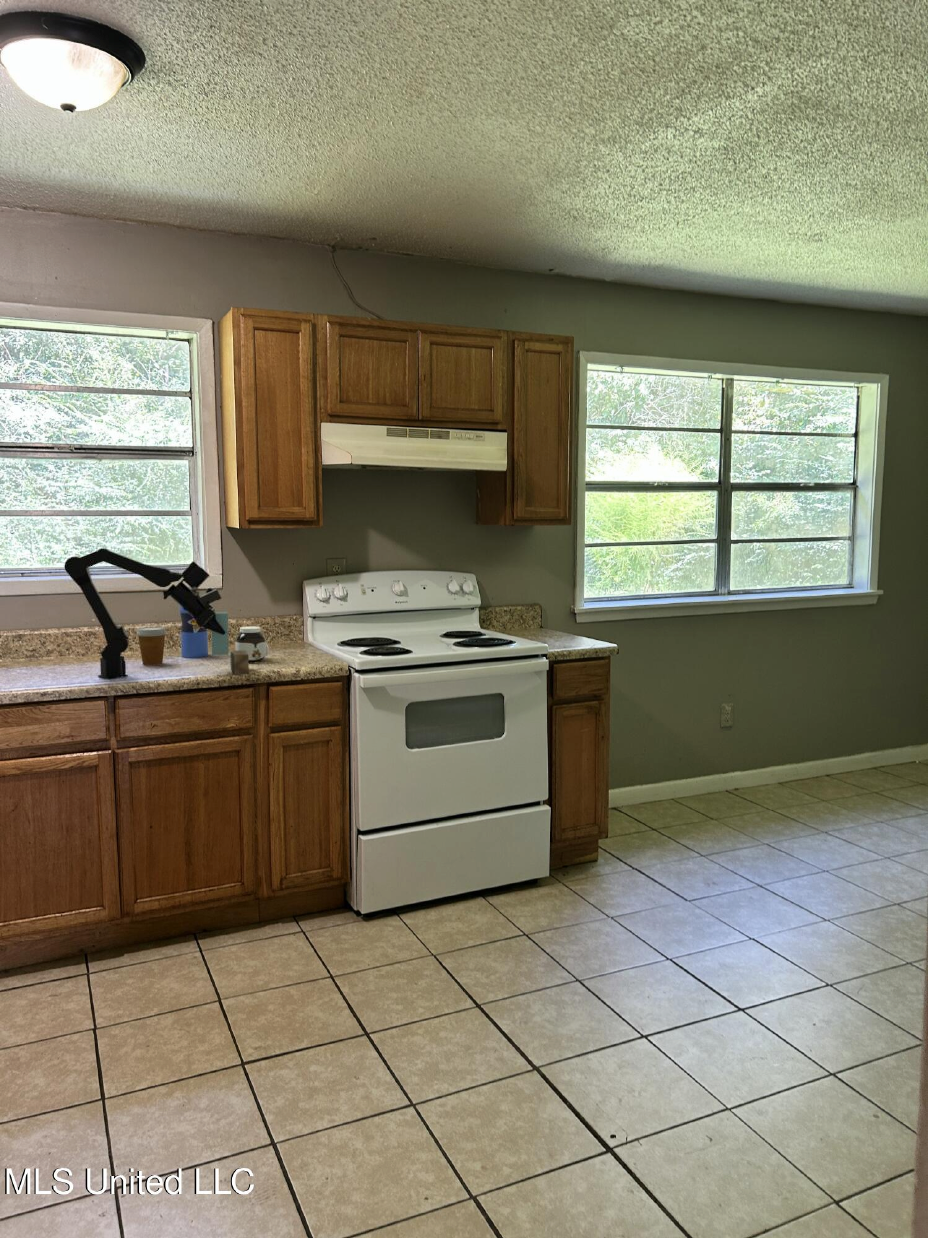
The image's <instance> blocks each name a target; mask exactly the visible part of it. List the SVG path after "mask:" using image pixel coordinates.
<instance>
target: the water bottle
mask: <svg viewBox="0 0 928 1238" xmlns="http://www.w3.org/2000/svg"><path fill="white" fill-rule="evenodd" d="M187 587H188V588H189V589H190V590H191V591H193V592H194V593H195V594H196V595H197V594H198V595H199V596H200V591H198V590H199V587H198V588H197V587H193V588H191V587H190V586H189V585H188V586H187ZM178 605H179V604H178ZM179 613H180V619H181V628H180V629H181V630H180V645H181V646H180V647H181V648H180V649H181V651H180V652H181V658H184V659H200V658H201V659H202V658H207V657H209V643H208V642H209V637H208V636H209V635H208V629H206V628H203V627H200V626H199V625H197V624H196V620H195V619H194V618H193V616H192V615H190V614H189V613H188V612H187V611H185V610H184V609H183V607H182V606H180V605H179Z"/></svg>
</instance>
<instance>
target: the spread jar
mask: <svg viewBox="0 0 928 1238" xmlns="http://www.w3.org/2000/svg"><path fill="white" fill-rule="evenodd" d="M261 630H262V629H261V626H252V625H251V626H240V628H239V632H240V633H239V634H238V635H237V636H236V639H235V648H234V649H235V651H237V650H246V651H247V653H248V659H249V664H256V663H255V662H257V663H261V662H262V661H263V660H264V659H265V657H266V656H268V653H269V652H270V647H269V644H268V643H267V641H266V638H265V636H264V635H263V633H261Z"/></svg>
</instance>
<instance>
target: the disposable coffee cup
mask: <svg viewBox="0 0 928 1238" xmlns="http://www.w3.org/2000/svg"><path fill="white" fill-rule="evenodd" d="M167 632H168V631H167V630H166V627H164V626H145V627H138V628H137V631H136V636H137V638H138V642H139V643H138V644H139V650H140V654H141V655H140V656H141V661H142V665H144V666H158V665H163V662H164V651H165V641H166V639H165V638H166V635H167Z"/></svg>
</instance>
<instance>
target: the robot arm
mask: <svg viewBox="0 0 928 1238" xmlns="http://www.w3.org/2000/svg"><path fill="white" fill-rule="evenodd" d="M102 562H104V563H106V564H110V565H112V566H113V567H114V566H115V567H117V568H120V569H122V570H125V571H128V572H130V573H133V574H136V575H138V576H141V577H143V578H144V579H146V580H147V581H149V582H151V583H152V584H154V585H155V586H156V587H159V588H166V587H168V589H165V590H164V589H162V593H163V600H167V599H168V598H169V597H170V598H171V599H173V600H174V601H175V602H176V603H177V604H178V605H180V606H182V607H183V609H184V610H185V611H187V612H188V613H189V614H190V615H192V616H193V618H194V619H195V620H196V624H197V625H199V626H200V627H203V628H206V629H207V630H209V631H211V630H212V631H214V632H217V633H220V634H222V635H224V634H225V633H226V632H225V631H224V629H223V628H222V627H221V625H220V624H219V623H218V621H217V620H216V613H215V612H216V611H215V609H214V607H213V605H211V604H212V603H214V602H216V601H220V600H221V599H222V596H221V594H220V592H219V590H218V588H215V589H213V588H212V587H209V588H206V589H205V593H203V594H202V595H200V594H199V595H198V594H197V595H196V594H195V593H194V592H193V591H191V590H190V589H189V588H188V587H189V586H190V587H191V588H193V587H197V588H198V589H199V587H201V585H202V584H203V583H204V582H205V581H206V580H208V578H210V577H211V575H210V574H209V572H207V571H206V570H205V569H204V568H203V567H202V566H200V565H198V564H197V563H196V562H195V561H194V560H193V561H191V562H190V563H189V565H188V566H187V567H186V568H185V570H183V571H182V572H179V571H178V572H174V571H172V570H170V569H169V568H166V567H163V566H157V565H151V564H146V563H143V562H140V561H138V560H136V559H133V558H130V557H128V556H125V555H122V554H119V553H117V552H115V551H111V550H109V549H108V548H106V547H101V548H100V549H98V550H96V551H93V552H91V553H90V552H89V554H86V555H83V556H80V555H74V556H70V557H69V558H67V559H66V560H65V563H64V565H63V566H64V570H65V571H66V573H67V575H69V577H70V578H71V579H72V581H73V582H75V584H76V585H77V586H78V587H79V588H80V590H81V592H82V593H83V596H84V597H85V600H86V601H87V603H88V604H89V606H90V608H91V610H92V612H93V613H94V615H95V617H96V619H97V620H98V623H99V624H100V626H101V628H102V631H103V635H104V638H105V642H106V645H105V646H104V647H103V648H102V650H101V652H100V655H101V657H100V658H99V660H100V661H99V663H100V664H99V665H100V674H99V675H97V677H98V678H102V679H106V680H107V679H108V680H111V679H119V678H123V677H124V678H125V677H128V676H129V675H128V674H126V673H127V671H126V670H127V668H126V667H127V665H126V664H127V663H126V660H125V656H124V655H122V653H124V652H126V650H127V649H128V646H129V644H130V643H129V642H130V641H129V637H130V634H129V633H127V631H126V629H125V626H124V624H121V625H118V624H117V623H116V622H115V621H114V618H113V617H112V615H111V613H110V611H109V610H108V608H107V606H106V604H105V602H104V600H103V598H102V597H101V595H100V593H99V591H98V589H97V587H96V586H95V584H94V582H93V579H92V575H91V572H90V569H89V568H90V567H93V566H95V565H98V564H101V563H102ZM180 580H181V581H180ZM176 582H178V583H177V584H174V583H176ZM172 583H173V584H172ZM185 583H186V584H187V585H186V584H185ZM171 584H172V585H171ZM170 585H171V586H170ZM180 606H179V607H180Z"/></svg>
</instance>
